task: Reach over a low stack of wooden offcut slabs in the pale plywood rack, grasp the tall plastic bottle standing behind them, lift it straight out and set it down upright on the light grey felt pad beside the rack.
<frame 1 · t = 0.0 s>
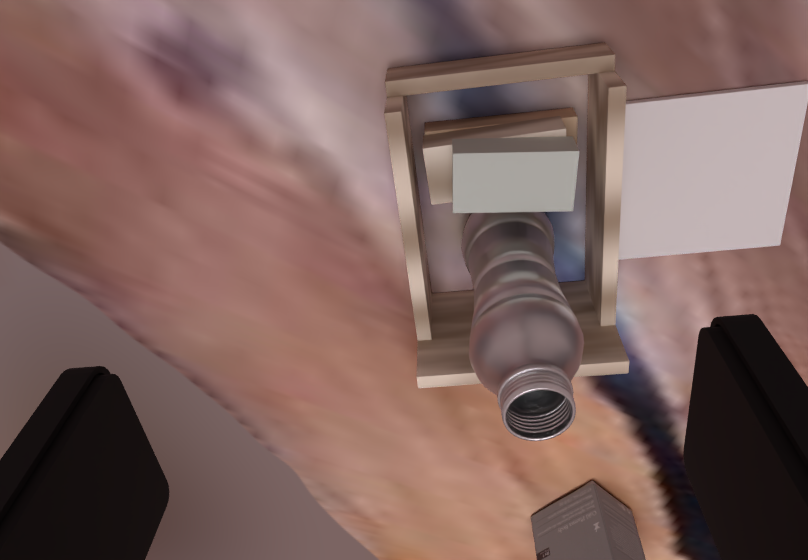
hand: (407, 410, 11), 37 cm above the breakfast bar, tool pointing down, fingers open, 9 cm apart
pad: (701, 175, 48), on the breakfast bar
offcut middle: (493, 154, 45), point 2 cm above the breakfast bar, touching offcut bottom, offcut top
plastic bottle: (503, 224, 51), on the breakfast bar
skincare box: (580, 512, 68), on the breakfast bar
offcut top: (510, 167, 43), point 4 cm above the breakfast bar, touching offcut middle
offcut bottom: (498, 140, 47), on the breakfast bar, touching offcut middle
rack: (501, 182, 48), on the breakfast bar
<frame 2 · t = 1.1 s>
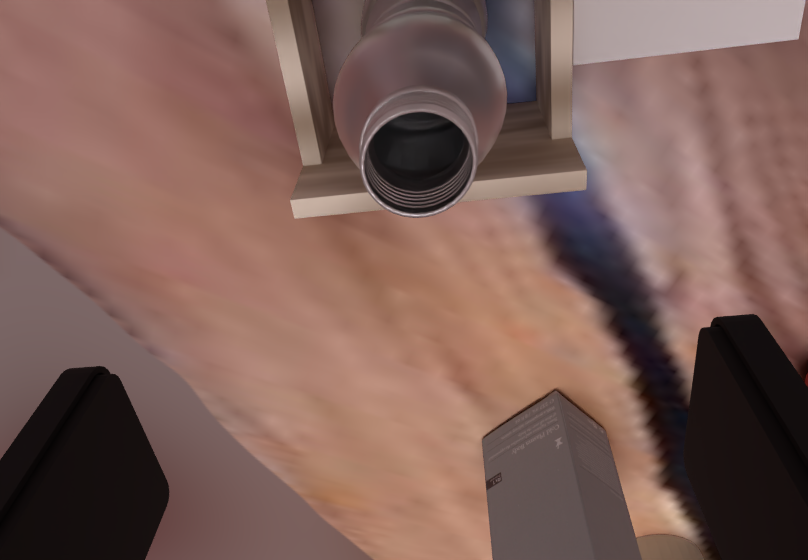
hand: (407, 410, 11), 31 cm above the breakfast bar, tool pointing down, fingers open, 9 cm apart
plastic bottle: (424, 14, 37), on the breakfast bar
skincare box: (542, 434, 55), on the breakfast bar
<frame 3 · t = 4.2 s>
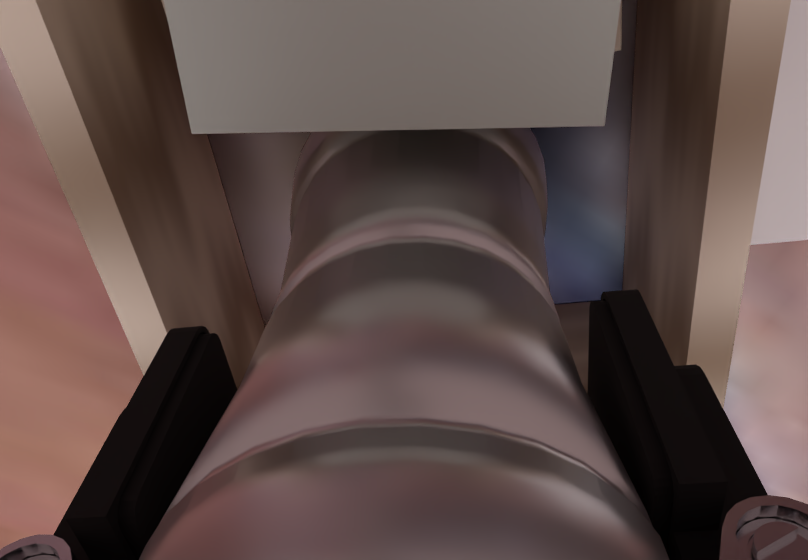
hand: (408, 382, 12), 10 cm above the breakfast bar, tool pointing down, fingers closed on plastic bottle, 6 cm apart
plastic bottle: (419, 159, 20), on the breakfast bar, touching gripper
rack: (404, 38, 18), on the breakfast bar
when the fingers open (11 cm above the breakfast bar, at t = 11.3 s): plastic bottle drops 1 cm, resting on pad.
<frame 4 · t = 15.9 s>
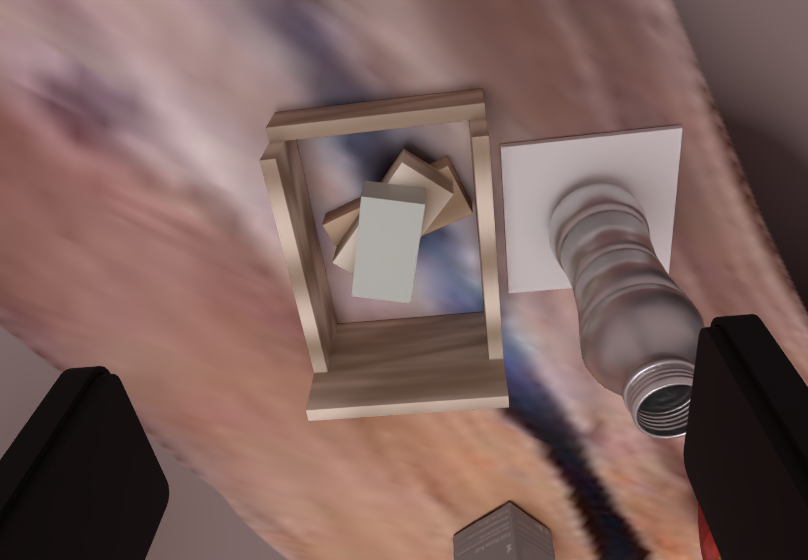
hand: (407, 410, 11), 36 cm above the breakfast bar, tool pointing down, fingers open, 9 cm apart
pad: (587, 213, 49), on the breakfast bar
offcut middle: (392, 213, 48), point 2 cm above the breakfast bar
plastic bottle: (589, 214, 49), resting on pad
skincare box: (501, 532, 69), on the breakfast bar
vegetable: (730, 487, 64), on the breakfast bar
offcut top: (389, 234, 46), point 4 cm above the breakfast bar
offcut bottom: (398, 204, 50), on the breakfast bar
rack: (394, 219, 50), on the breakfast bar
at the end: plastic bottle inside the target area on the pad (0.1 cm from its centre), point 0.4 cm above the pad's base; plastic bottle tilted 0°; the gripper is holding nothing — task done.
